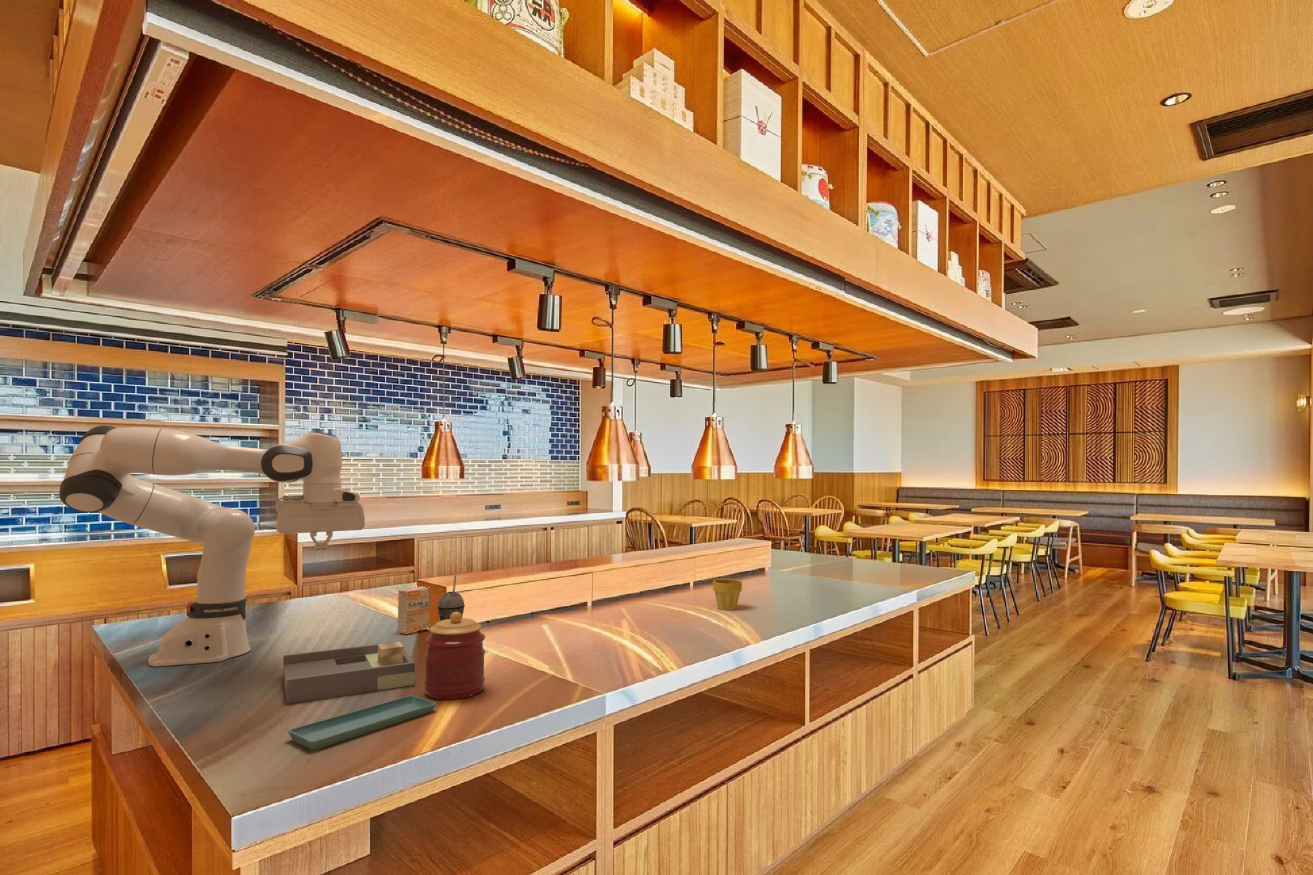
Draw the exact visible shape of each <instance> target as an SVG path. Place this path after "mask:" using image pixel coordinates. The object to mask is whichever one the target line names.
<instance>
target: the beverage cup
mask: <svg viewBox="0 0 1313 875" xmlns="http://www.w3.org/2000/svg"><path fill="white" fill-rule="evenodd" d="M456 583H457V575H456V574H454V578H453V585H452V586H453V587H452V591H447V592H445V593H444V594H443V595H441V596H440V598H439V600H438V605H437V611H438V615H439V621H442V620H447V619H450V616H451V614H452V613H453V612H459V613H461V615H462V616H463V615H464V612H465V601H464V598H463V596H462V595H461V594H460V593H459V592H457V591H455V589H456Z"/></svg>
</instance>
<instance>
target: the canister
mask: <svg viewBox="0 0 1313 875" xmlns="http://www.w3.org/2000/svg"><path fill="white" fill-rule="evenodd" d="M481 629H482V624H480V623H478V622H476V620H474V619H473V618H464V617H463V615H461V613H459V612H453V613H452V614H451V616H450V619H447V620H442V621H440V620H439V621H437V622H436V623H435V624H434V625H432V626H431V627H429V632H430V633H431V634H430V635H429V636H427V637H426V638H425V641H424V642H425V643H426V645H427V652H426V653H425V654H424V659H425V681H424V690H425V695H426V696H428V697H429V698H431V699H435V700H445V701H446V700H447V701H449V700H460V699H459V698H461V699H464V698H463V697H466V698H468V697H467V696H470V695H473V696H475V695H474V694H476V695H478V694H479V693H478V692H480V691H481V690H482V689H483V690H484V686H485V682H486V681H485V654H486V650H485V648H484V641H485V639H486V635H485V634H484V633H483V632H482V631H480V630H481ZM483 690H482V691H483ZM482 691H481V692H482ZM481 692H480V693H481ZM477 693H478V694H477ZM470 697H471V696H470Z"/></svg>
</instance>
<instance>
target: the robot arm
mask: <svg viewBox="0 0 1313 875" xmlns="http://www.w3.org/2000/svg"><path fill="white" fill-rule="evenodd" d="M342 467H343V452H342V443H341V441H340V439H339V438H338V437H337V436H336V435H334V434H331V433H329V432H322V431H317V430H314V431H313V430H312V431H308V432H307V433H305V434H303V435H301V436H300V437H297V438H296V439H293V440H290V441H287V442H284V443H280V444H276V445H273V446H271V447H270V448H254V447H247V446H246V447H244V446H236V445H229V444H224V443H219V442H216V441H213V440H211V439H208V438H206V437H203V436H201V435H200V436H199V435H196V434H194V433H190V432H187V431H182V430H177V429H172V428H164V427H163V428H161V427H152V426H151V427H148V426H130V427H129V426H127V427H125V426H124V427H115V426H113V425H98V426H94V427H91V428H90V429H88V431H87V432H86V433H84V434H83V435H82V436H81V438H80V439H79V444H78V445H77V446H76V448H75V450H74V452H73V453H72V454H71V457H70V459H69V461H68V465H67V468H66V471H65V474H64V478H63V480H62V481H61V483H60V487H59V499H60V501H61V503H62V504H64V505H65V506H67V508H69V509H71V510H74V511H77V512H81V513H90V514H91V513H100V514H101V515H103V516H106V517H107V518H108V517H109V518H111V519H114V520H116V521H119V522H122V523H126V524H129V525H132V526H134V527H138V528H142V529H147V530H149V531H153V532H156V533H160V534H163V535H167V536H171V537H174V538H175V537H176V538H178V539H182V540H184V541H185V540H186V541H189V542H193V543H197V544H200V545H203V549H202V555H201V560H200V563H199V568H198V570H197V575H196V576H197V578H196V579H197V580H196V601H189V602H187V604H186V605H185V608H186V618H185V619H183V620H182V621H180V622H178V624H176V625H175V626H174V627H172V628H171V629H169V630H168V631H166V633H165V634H164V635H163V636H162V639H161V640H160V643H159V648H158V651H155V652H154V653H152V654H150V656H149V657H148V661H147V664H148V666H151V667H165V666H167V667H168V666H179V665H191V664H193V665H194V664H204V663H205V664H206V663H217V662H222V661H225V660H227V659H230V658H234V657H237V656H241V655H244V654H247V653H248V652H250V651H251V646H250V642H249V638H248V634H247V633H248V632H247V627H246V625H247V624H246V619H247V615H248V602H247V600H248V599H247V598H246V580H247V579H246V578H247V577H246V575H247V574H246V573H247V566H248V560H249V556H250V551H251V545H252V541H253V540H252V539H253V538H254V536H255V532H256V526H255V522H254V521H253V519H252V518H251V517H250V516H249V515H248V513H246V512H245V511H243V510H240V509H237V508H231V507H226V506H222V505H218V504H215V503H213V502H210V501H207V500H204V499H202V498H198V497H195V496H193V495H191V494H187V493H184V492H181V491H178V490H175V489H172V488H168V487H166V486H163V485H160V484H156V483H154V482H153V483H152V482H150V481H146V480H143V479H140V478H136V477H134V476H132V475H131V474H143V475H155V476H164V477H165V476H168V477H171V476H175V477H176V476H188V475H189V476H190V475H196V474H201V473H207V472H215V471H233V472H244V473H245V472H246V473H253V474H254V473H255V474H261V475H265V476H266V477H267V478H268V479H270V480H271V481H274V482H276V483H284V484H285V483H289V484H290V483H294V482H297V481H299V480H302V483H303V485H302V495H283V496H282V497H279V498H278V499H277V500H276V501H275V511H276V513H277V519H276V520H277V521H276V528H275V529H276V531H277V532H278V533H279V534H296V533H297V534H299V533H300V534H301V533H309V536H310V538H311V540H312V542H313V543H314V551H322V550H323V551H325V550H328V546H329V545H328V544H329V542H330V541H331V539H332V538H333V536H334V535H333V534H334V532H348V531H349V532H350V531H362V530H363V529H364V528H365V526H366V522H365V512H364V507H363V505H362V504H361V503H359V501H361V495H360V494H359V493H358V492H356V491H350V490H349V489H344V488H342V479H341V470H342ZM319 532H320V533H324V532H325V536H327V537H326V538H325V541H320V542H318V541H317V539H316V538H315V537H317V534H318V533H319Z"/></svg>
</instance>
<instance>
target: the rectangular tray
mask: <svg viewBox="0 0 1313 875" xmlns="http://www.w3.org/2000/svg"><path fill="white" fill-rule="evenodd" d="M436 706H437V702H435V701H431V700H428V699H425V698H422V697H419V696H416V695H407V696H405V697H400V698H397V699H393V700H389V701H385V702H382V703H378V704H374V705H371V706H367V707H365V708H361V709H357V710H353V711H350V712H346V713H343V714H339V715H336V716H331V717H329V718H326V719H322V720H319V721H315V722H311V723H307V724H304V725H301V726H297V727H293V728H289V729H287V733H288V735H289V736H290V738H291V739H292V741H293V742H294V743H297V744H298V745H301V746H303V747H304V748H307V749H309V750H310V751H316V750H317V751H318V750H320V749H323V748H326V747H328V746H331V745H336V744H338V743H339V744H340V743H341V742H344V741H347V740H350V739H353V738H357V737H360V736H362V735H365V734H369V733H372V732H375V731H378V730H380V729H384V728H387V727H390V726H393V725H396V724H399V723H402V722H405V721H408V720H411V719H414V718H418V717H420V716H424V715H426V714H429V713H431V712H432V711H433V710H434V709H435V707H436Z"/></svg>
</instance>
